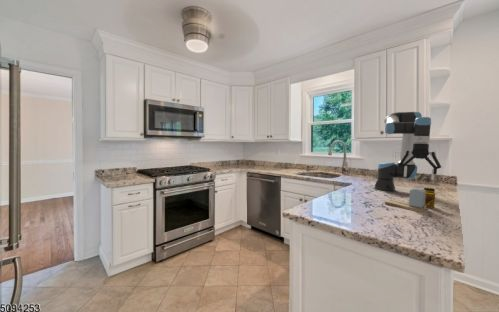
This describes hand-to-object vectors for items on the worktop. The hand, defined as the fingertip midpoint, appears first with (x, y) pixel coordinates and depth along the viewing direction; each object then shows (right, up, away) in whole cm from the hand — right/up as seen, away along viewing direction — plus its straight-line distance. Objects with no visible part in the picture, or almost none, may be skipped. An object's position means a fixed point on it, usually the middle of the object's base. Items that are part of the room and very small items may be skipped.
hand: (418, 178), depth 134 cm
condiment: (+10, -19, +6) cm, 22 cm away
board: (-4, -18, +5) cm, 19 cm away
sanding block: (-1, -17, +1) cm, 17 cm away
